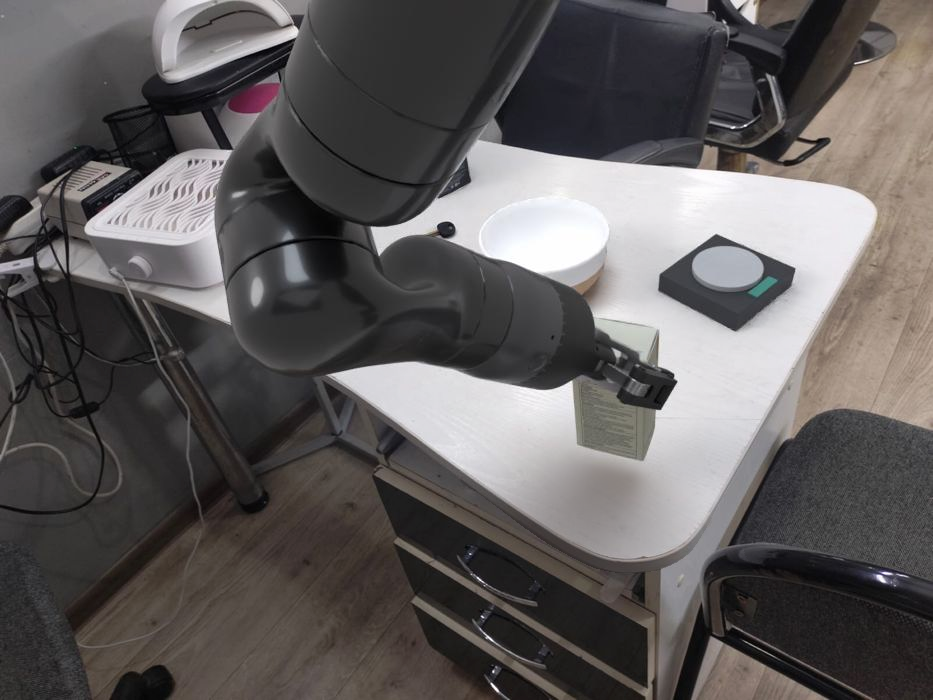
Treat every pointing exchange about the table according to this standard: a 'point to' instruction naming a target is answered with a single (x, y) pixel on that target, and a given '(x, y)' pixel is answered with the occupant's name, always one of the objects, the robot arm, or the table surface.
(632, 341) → the cosmetic box
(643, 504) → the table surface
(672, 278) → the scale
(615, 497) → the table surface
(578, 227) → the bowl
